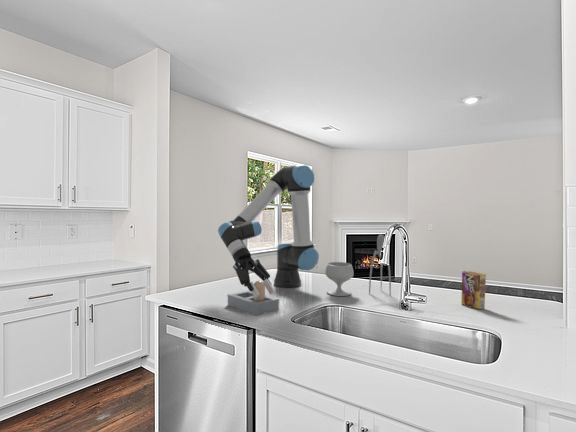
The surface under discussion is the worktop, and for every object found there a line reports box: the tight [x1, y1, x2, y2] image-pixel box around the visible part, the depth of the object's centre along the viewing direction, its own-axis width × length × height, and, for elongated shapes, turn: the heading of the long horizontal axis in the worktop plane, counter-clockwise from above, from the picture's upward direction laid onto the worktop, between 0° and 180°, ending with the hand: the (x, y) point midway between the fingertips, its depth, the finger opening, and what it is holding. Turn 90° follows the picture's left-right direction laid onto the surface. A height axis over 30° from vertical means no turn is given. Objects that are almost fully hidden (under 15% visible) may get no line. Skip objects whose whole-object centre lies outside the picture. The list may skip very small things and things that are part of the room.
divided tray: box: [227, 290, 280, 316], centre depth 153 cm, size 12×20×4 cm, turn 44°
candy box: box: [460, 270, 487, 309], centre depth 158 cm, size 9×4×15 cm, turn 26°
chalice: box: [324, 261, 355, 297], centre depth 178 cm, size 14×14×15 cm
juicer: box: [368, 234, 392, 296], centre depth 178 cm, size 10×9×30 cm
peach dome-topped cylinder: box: [253, 280, 266, 302], centre depth 149 cm, size 5×5×11 cm
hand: (265, 294), depth 147 cm, fingers open, 8 cm apart
